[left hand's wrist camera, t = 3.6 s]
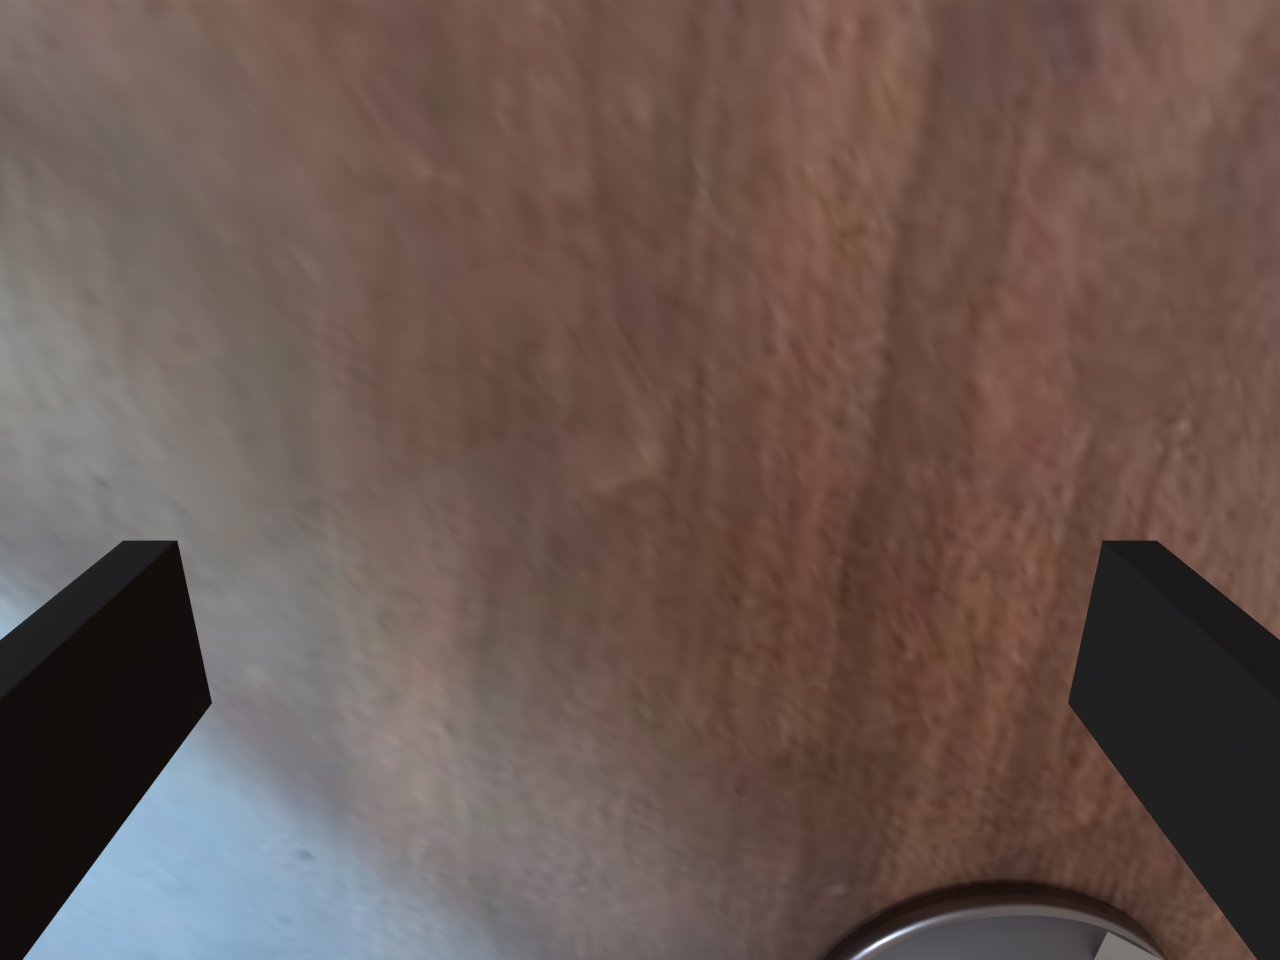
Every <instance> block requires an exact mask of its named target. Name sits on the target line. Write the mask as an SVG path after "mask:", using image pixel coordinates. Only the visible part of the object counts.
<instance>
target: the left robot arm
mask: <svg viewBox="0 0 1280 960" xmlns="http://www.w3.org/2000/svg"><path fill="white" fill-rule="evenodd" d="M211 704H212V701H211V697H210V692H209V687H208V683H207V678H206V673H205V668H204V664H203V659H202V654H201V650H200V645H199V640H198V636H197V631H196V626H195V622H194V617H193V612H192V607H191V603H190V598H189V593H188V589H187V584H186V579H185V575H184V570H183V565H182V560H181V556H180V551H179V546H178V542H177V541H122V542H121V543H120V544H119V545H117V546H116V547H115V548H114V549H112V550H111V551H110V552H109V553H107V554H106V555H105V556H104V557H102V558H101V559H100V560H99V561H98V562H96V563H95V564H94V565H93V566H91V567H90V568H89V569H88V570H86V571H85V572H84V573H83V574H81V575H80V576H79V577H78V578H77V579H75V580H74V581H73V582H72V583H70V584H69V585H68V586H67V587H65V588H64V589H63V590H62V591H60V592H59V593H58V594H57V595H55V596H54V597H53V598H52V599H51V600H49V601H48V602H47V603H46V604H44V605H43V606H42V607H41V608H39V609H38V610H37V611H36V612H34V613H33V614H32V615H31V616H30V617H28V618H27V619H26V620H25V621H23V622H22V623H21V624H20V625H18V626H17V627H16V628H15V629H13V630H12V631H11V632H10V633H9V634H7V635H6V636H5V637H4V638H2V639H1V640H0V960H23V959H24V957H25V956H26V954H27V953H28V952H29V950H30V949H31V948H32V946H33V945H34V944H35V942H36V941H37V940H38V938H39V937H40V935H41V934H42V933H43V931H44V930H45V929H46V927H47V926H48V925H49V923H50V922H51V921H52V919H53V918H54V917H55V915H56V914H57V912H58V911H59V910H60V908H61V907H62V906H63V904H64V903H65V902H66V900H67V899H68V898H69V896H70V895H71V893H72V892H73V891H74V889H75V888H76V887H77V885H78V884H79V883H80V881H81V880H82V879H83V877H84V876H85V874H86V873H87V872H88V870H89V869H90V868H91V866H92V865H93V864H94V862H95V861H96V860H97V858H98V857H99V855H100V854H101V853H102V851H103V850H104V849H105V847H106V846H107V845H108V843H109V842H110V841H111V839H112V838H113V837H114V835H115V834H116V832H117V831H118V830H119V828H120V827H121V826H122V824H123V823H124V822H125V820H126V819H127V818H128V816H129V815H130V813H131V812H132V811H133V809H134V808H135V807H136V805H137V804H138V803H139V801H140V800H141V799H142V797H143V796H144V794H145V793H146V792H147V790H148V789H149V788H150V786H151V785H152V784H153V782H154V781H155V780H156V778H157V777H158V776H159V774H160V773H161V771H162V770H163V769H164V767H165V766H166V765H167V763H168V762H169V761H170V759H171V758H172V757H173V755H174V754H175V752H176V751H177V750H178V748H179V747H180V746H181V744H182V743H183V742H184V740H185V739H186V738H187V736H188V735H189V733H190V732H191V731H192V729H193V728H194V727H195V725H196V724H197V723H198V721H199V720H200V719H201V717H202V716H203V714H204V713H205V712H206V710H207V709H208V708H209V706H210V705H211ZM1068 704H1069V705H1070V706H1071V708H1072V709H1073V710H1074V712H1075V713H1076V714H1077V716H1078V717H1079V719H1080V720H1081V721H1082V723H1083V724H1084V725H1085V727H1086V728H1087V729H1088V731H1089V732H1090V733H1091V735H1092V736H1093V738H1094V739H1095V740H1096V742H1097V743H1098V744H1099V746H1100V747H1101V748H1102V750H1103V751H1104V752H1105V754H1106V755H1107V757H1108V758H1109V759H1110V761H1111V762H1112V763H1113V765H1114V766H1115V767H1116V769H1117V770H1118V771H1119V773H1120V774H1121V776H1122V777H1123V778H1124V780H1125V781H1126V782H1127V784H1128V785H1129V786H1130V788H1131V789H1132V790H1133V792H1134V793H1135V794H1136V796H1137V797H1138V799H1139V800H1140V801H1141V803H1142V804H1143V805H1144V807H1145V808H1146V809H1147V811H1148V812H1149V813H1150V815H1151V816H1152V818H1153V819H1154V820H1155V822H1156V823H1157V824H1158V826H1159V827H1160V828H1161V830H1162V831H1163V832H1164V834H1165V835H1166V837H1167V838H1168V839H1169V841H1170V842H1171V843H1172V845H1173V846H1174V847H1175V849H1176V850H1177V851H1178V853H1179V854H1180V855H1181V857H1182V858H1183V860H1184V861H1185V862H1186V864H1187V865H1188V866H1189V868H1190V869H1191V870H1192V872H1193V873H1194V874H1195V876H1196V877H1197V879H1198V880H1199V881H1200V883H1201V884H1202V885H1203V887H1204V888H1205V889H1206V891H1207V892H1208V893H1209V895H1210V896H1211V898H1212V899H1213V900H1214V902H1215V903H1216V904H1217V906H1218V907H1219V908H1220V910H1221V911H1222V912H1223V914H1224V915H1225V917H1226V918H1227V919H1228V921H1229V922H1230V923H1231V925H1232V926H1233V927H1234V929H1235V930H1236V931H1237V933H1238V934H1239V935H1240V937H1241V938H1242V940H1243V941H1244V942H1245V944H1246V945H1247V946H1248V948H1249V949H1250V950H1251V952H1252V953H1253V954H1254V956H1255V957H1256V959H1257V960H1280V640H1279V639H1278V638H1276V637H1275V636H1274V635H1273V634H1271V633H1270V632H1269V631H1268V630H1267V629H1265V628H1264V627H1263V626H1262V625H1260V624H1259V623H1258V622H1257V621H1255V620H1254V619H1253V618H1252V617H1250V616H1249V615H1248V614H1247V613H1246V612H1244V611H1243V610H1242V609H1241V608H1239V607H1238V606H1237V605H1236V604H1234V603H1233V602H1232V601H1231V600H1229V599H1228V598H1227V597H1226V596H1225V595H1223V594H1222V593H1221V592H1220V591H1218V590H1217V589H1216V588H1215V587H1213V586H1212V585H1211V584H1210V583H1208V582H1207V581H1206V580H1205V579H1203V578H1202V577H1201V576H1200V575H1199V574H1197V573H1196V572H1195V571H1194V570H1192V569H1191V568H1190V567H1189V566H1187V565H1186V564H1185V563H1184V562H1182V561H1181V560H1180V559H1179V558H1178V557H1176V556H1175V555H1174V554H1173V553H1171V552H1170V551H1169V550H1168V549H1166V548H1165V547H1164V546H1163V545H1161V544H1160V543H1159V542H1158V541H1103V542H1102V546H1101V551H1100V556H1099V560H1098V565H1097V570H1096V575H1095V579H1094V584H1093V589H1092V593H1091V598H1090V603H1089V607H1088V612H1087V617H1086V622H1085V626H1084V631H1083V636H1082V640H1081V645H1080V650H1079V654H1078V659H1077V664H1076V668H1075V673H1074V678H1073V683H1072V687H1071V692H1070V697H1069V701H1068ZM823 960H1167V958H1166V957H1165V955H1164V954H1163V952H1162V951H1161V949H1160V948H1159V946H1158V945H1157V944H1156V942H1155V941H1154V940H1153V939H1152V937H1151V936H1150V935H1149V934H1148V933H1147V932H1146V931H1145V930H1144V929H1143V928H1142V927H1140V926H1139V925H1138V924H1137V923H1136V922H1134V921H1133V920H1132V919H1130V918H1129V917H1127V916H1126V915H1124V914H1123V913H1121V912H1120V911H1118V910H1116V909H1114V908H1112V907H1110V906H1108V905H1106V904H1104V903H1102V902H1099V901H1097V900H1094V899H1092V898H1089V897H1087V896H1083V895H1080V894H1076V893H1073V892H1069V891H1065V890H1060V889H1055V888H1049V887H1041V886H1032V885H988V886H979V887H970V888H964V889H959V890H953V891H948V892H944V893H940V894H936V895H933V896H929V897H926V898H923V899H920V900H917V901H914V902H911V903H908V904H906V905H903V906H901V907H899V908H896V909H894V910H892V911H890V912H888V913H886V914H884V915H882V916H880V917H878V918H876V919H874V920H872V921H871V922H869V923H868V924H866V925H864V926H863V927H861V928H859V929H858V930H856V931H855V932H854V933H852V934H851V935H850V936H848V937H847V938H846V939H844V940H843V941H842V942H841V943H840V944H839V945H837V946H836V947H835V948H834V949H833V950H832V951H831V952H830V953H829V954H828V955H827V956H826V957H825V958H824V959H823Z"/></svg>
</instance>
